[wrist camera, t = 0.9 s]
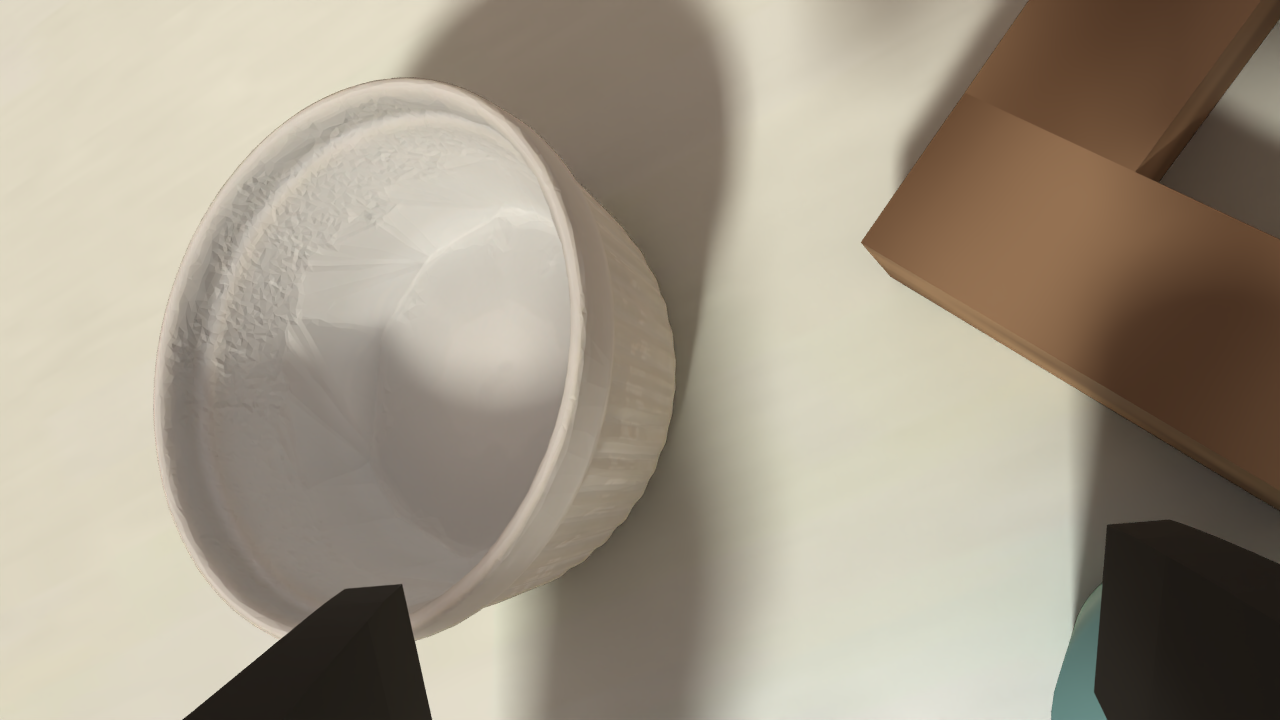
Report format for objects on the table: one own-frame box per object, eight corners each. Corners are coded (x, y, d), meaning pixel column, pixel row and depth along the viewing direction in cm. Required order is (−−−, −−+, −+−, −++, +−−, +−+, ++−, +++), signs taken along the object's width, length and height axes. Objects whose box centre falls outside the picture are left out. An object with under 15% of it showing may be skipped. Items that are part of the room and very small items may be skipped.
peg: (1357, 654, 17) (1540, 748, 10) (1219, 817, 17) (1298, 1019, 10) (1149, 519, 18) (1175, 515, 11) (1031, 670, 19) (987, 755, 12)
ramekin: (695, 663, 23) (542, 714, 16) (319, 586, 29) (107, 603, 23) (739, 160, 24) (617, 37, 18) (376, 189, 30) (193, 104, 24)
